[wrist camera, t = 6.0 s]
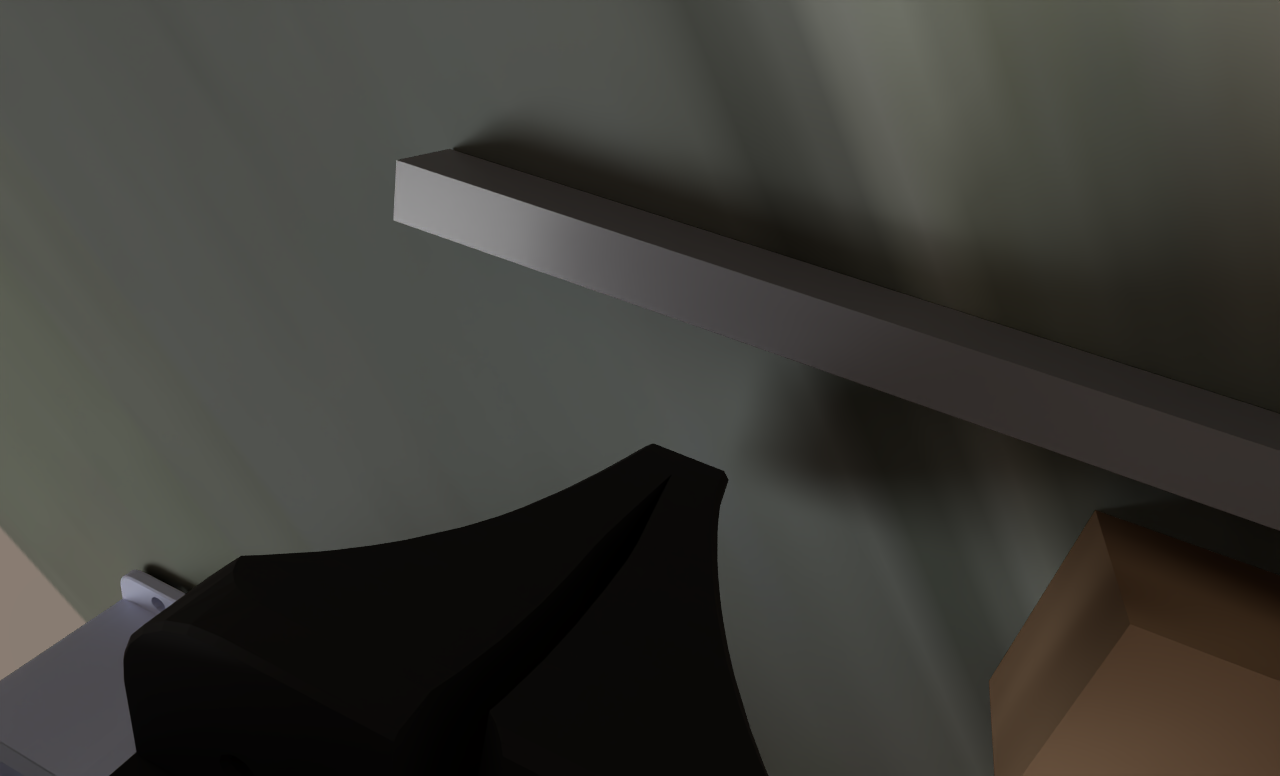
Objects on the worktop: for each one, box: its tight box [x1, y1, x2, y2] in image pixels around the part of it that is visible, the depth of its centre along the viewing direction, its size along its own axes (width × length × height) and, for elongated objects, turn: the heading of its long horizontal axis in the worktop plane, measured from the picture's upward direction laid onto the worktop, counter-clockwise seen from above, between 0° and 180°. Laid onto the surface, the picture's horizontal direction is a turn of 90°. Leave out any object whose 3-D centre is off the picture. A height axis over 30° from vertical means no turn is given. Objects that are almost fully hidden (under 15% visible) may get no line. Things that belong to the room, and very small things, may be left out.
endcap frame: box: [394, 149, 1280, 531], centre depth 11 cm, size 21×8×4 cm, turn 77°
